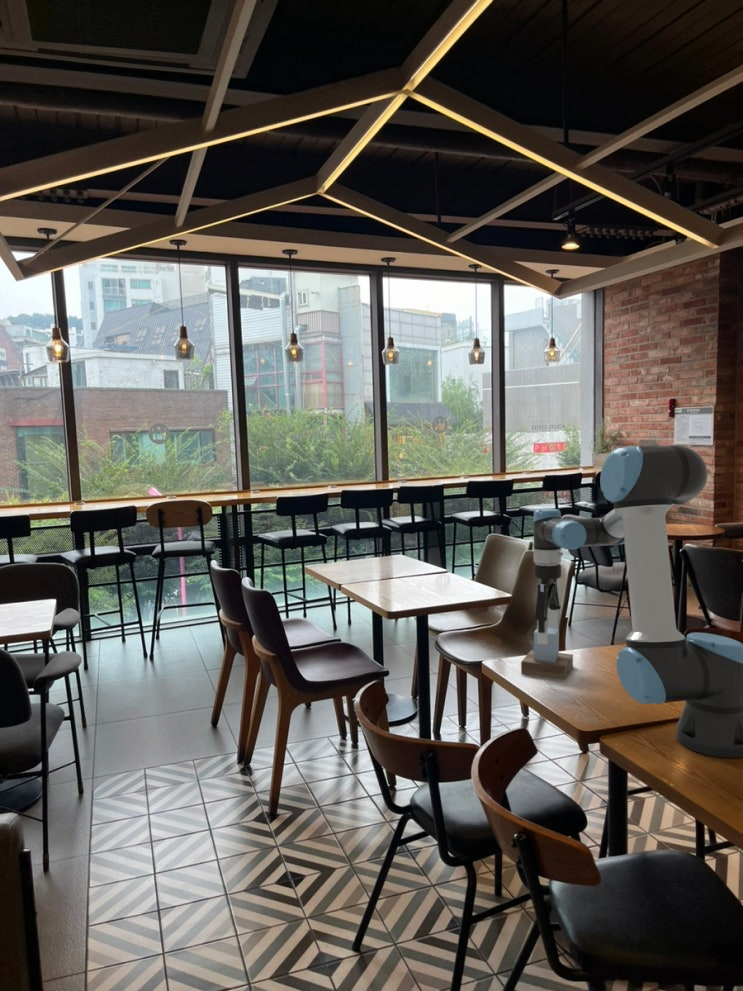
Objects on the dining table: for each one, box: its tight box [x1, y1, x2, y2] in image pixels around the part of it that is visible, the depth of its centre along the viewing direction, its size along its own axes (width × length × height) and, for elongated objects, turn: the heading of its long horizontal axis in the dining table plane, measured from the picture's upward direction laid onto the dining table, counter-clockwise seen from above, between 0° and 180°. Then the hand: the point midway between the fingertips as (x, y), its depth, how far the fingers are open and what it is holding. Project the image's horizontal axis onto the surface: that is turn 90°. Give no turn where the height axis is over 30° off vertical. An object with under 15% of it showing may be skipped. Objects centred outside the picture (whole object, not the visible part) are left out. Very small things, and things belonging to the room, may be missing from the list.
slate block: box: [533, 628, 560, 662], centre depth 197 cm, size 6×6×8 cm
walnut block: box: [520, 649, 574, 681], centre depth 198 cm, size 12×12×4 cm
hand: (547, 637), depth 197 cm, fingers open, 13 cm apart
